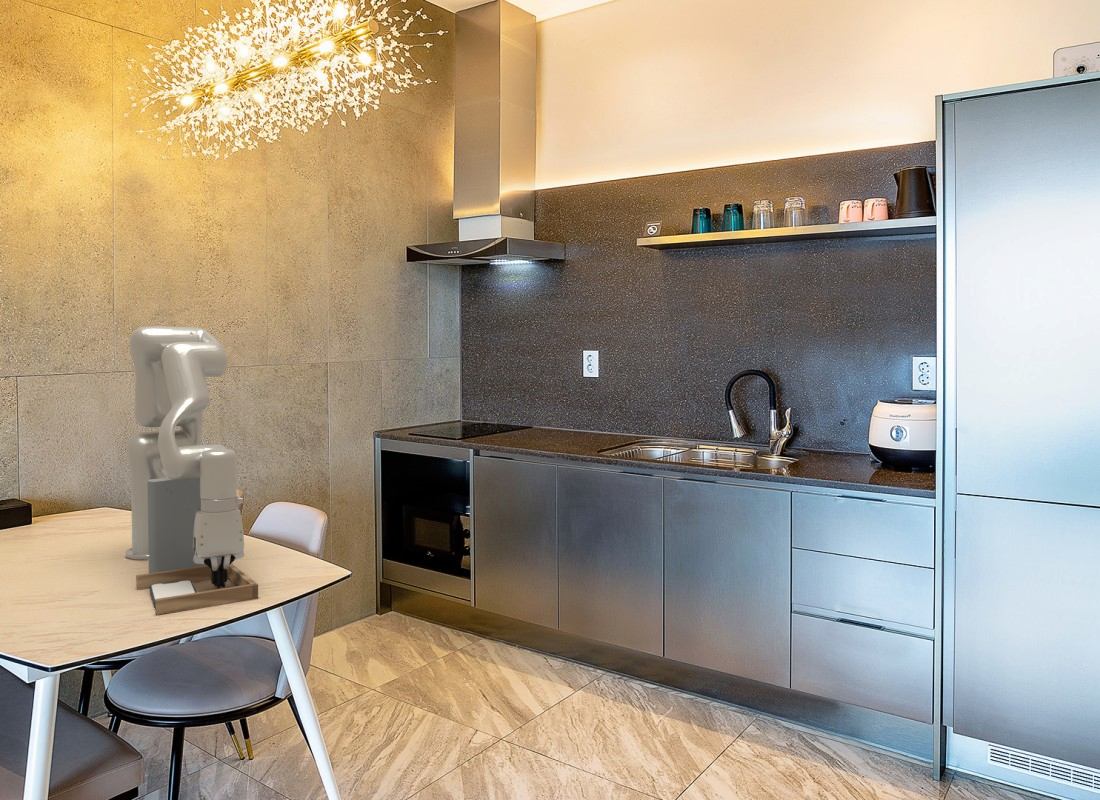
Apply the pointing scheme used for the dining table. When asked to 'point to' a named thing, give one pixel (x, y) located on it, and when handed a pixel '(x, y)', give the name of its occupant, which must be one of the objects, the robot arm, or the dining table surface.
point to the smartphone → (171, 589)
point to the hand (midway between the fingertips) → (219, 586)
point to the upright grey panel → (172, 523)
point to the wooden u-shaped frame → (241, 592)
